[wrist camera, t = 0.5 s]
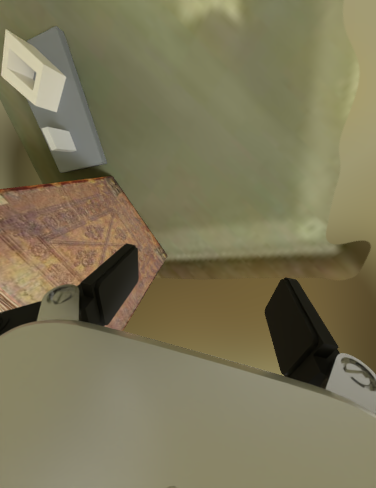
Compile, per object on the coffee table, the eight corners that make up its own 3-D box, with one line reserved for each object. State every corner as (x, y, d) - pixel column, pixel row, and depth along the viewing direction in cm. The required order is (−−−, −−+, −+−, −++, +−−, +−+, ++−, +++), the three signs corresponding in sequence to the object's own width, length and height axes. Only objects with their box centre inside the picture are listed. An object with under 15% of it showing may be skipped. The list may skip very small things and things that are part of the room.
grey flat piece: (14, 56, 33) (-31, 33, 27) (63, 31, 30) (25, 0, 24) (65, 172, 42) (40, 173, 36) (107, 163, 39) (87, 163, 33)
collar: (27, 86, 33) (1, 75, 29) (34, 46, 30) (5, 28, 26) (56, 112, 34) (35, 105, 31) (66, 76, 31) (43, 64, 27)
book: (90, 194, 43) (-117, 241, 17) (112, 175, 40) (-104, 198, 13) (145, 266, 51) (60, 376, 24) (168, 255, 47) (98, 371, 21)
